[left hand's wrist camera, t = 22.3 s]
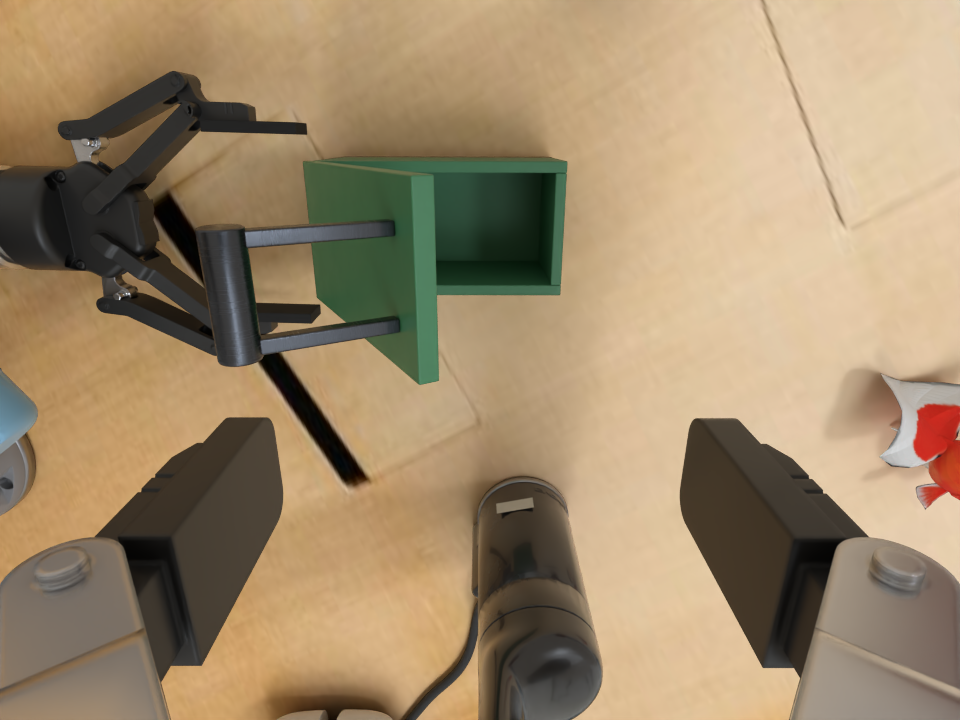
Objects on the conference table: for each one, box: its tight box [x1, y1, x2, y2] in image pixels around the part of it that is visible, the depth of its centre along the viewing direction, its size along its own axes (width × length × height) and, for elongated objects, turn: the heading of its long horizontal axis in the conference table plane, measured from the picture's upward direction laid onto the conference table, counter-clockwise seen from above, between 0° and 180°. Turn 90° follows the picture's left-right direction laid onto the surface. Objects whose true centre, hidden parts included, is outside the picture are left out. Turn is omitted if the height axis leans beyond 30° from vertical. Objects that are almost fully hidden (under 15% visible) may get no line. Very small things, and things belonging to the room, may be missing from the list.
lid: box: [195, 161, 439, 385], centre depth 30 cm, size 18×9×9 cm
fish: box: [880, 373, 960, 510], centre depth 52 cm, size 11×16×10 cm
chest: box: [317, 157, 567, 295], centre depth 44 cm, size 17×9×10 cm, turn 90°
